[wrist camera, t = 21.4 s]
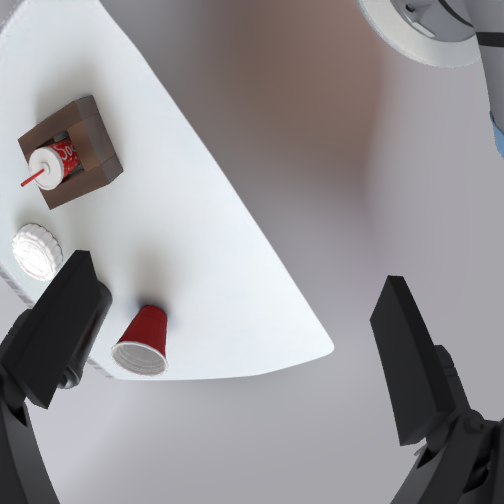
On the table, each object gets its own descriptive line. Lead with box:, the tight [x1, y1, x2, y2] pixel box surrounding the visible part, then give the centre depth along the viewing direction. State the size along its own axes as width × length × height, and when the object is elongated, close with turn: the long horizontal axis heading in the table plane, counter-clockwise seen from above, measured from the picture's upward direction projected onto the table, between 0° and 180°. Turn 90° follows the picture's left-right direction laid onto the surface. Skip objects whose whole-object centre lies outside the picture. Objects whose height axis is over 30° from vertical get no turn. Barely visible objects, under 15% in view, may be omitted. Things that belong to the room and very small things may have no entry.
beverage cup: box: [21, 137, 81, 190], centre depth 35 cm, size 6×6×14 cm
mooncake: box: [12, 224, 63, 281], centre depth 51 cm, size 12×12×4 cm
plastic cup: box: [111, 305, 168, 377], centre depth 55 cm, size 11×11×12 cm
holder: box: [18, 96, 123, 210], centre depth 39 cm, size 13×13×5 cm
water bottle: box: [57, 281, 112, 389], centre depth 49 cm, size 10×10×23 cm
